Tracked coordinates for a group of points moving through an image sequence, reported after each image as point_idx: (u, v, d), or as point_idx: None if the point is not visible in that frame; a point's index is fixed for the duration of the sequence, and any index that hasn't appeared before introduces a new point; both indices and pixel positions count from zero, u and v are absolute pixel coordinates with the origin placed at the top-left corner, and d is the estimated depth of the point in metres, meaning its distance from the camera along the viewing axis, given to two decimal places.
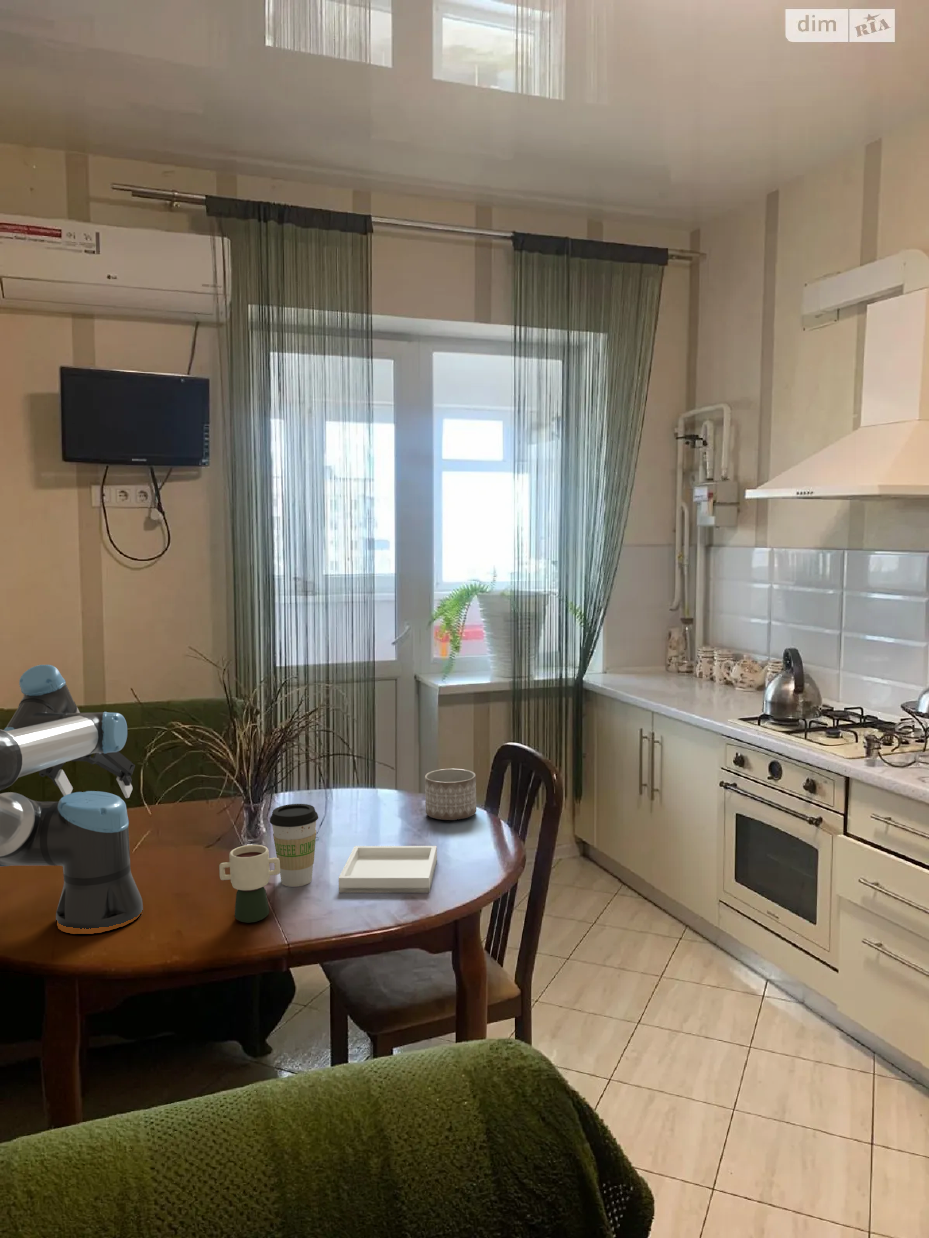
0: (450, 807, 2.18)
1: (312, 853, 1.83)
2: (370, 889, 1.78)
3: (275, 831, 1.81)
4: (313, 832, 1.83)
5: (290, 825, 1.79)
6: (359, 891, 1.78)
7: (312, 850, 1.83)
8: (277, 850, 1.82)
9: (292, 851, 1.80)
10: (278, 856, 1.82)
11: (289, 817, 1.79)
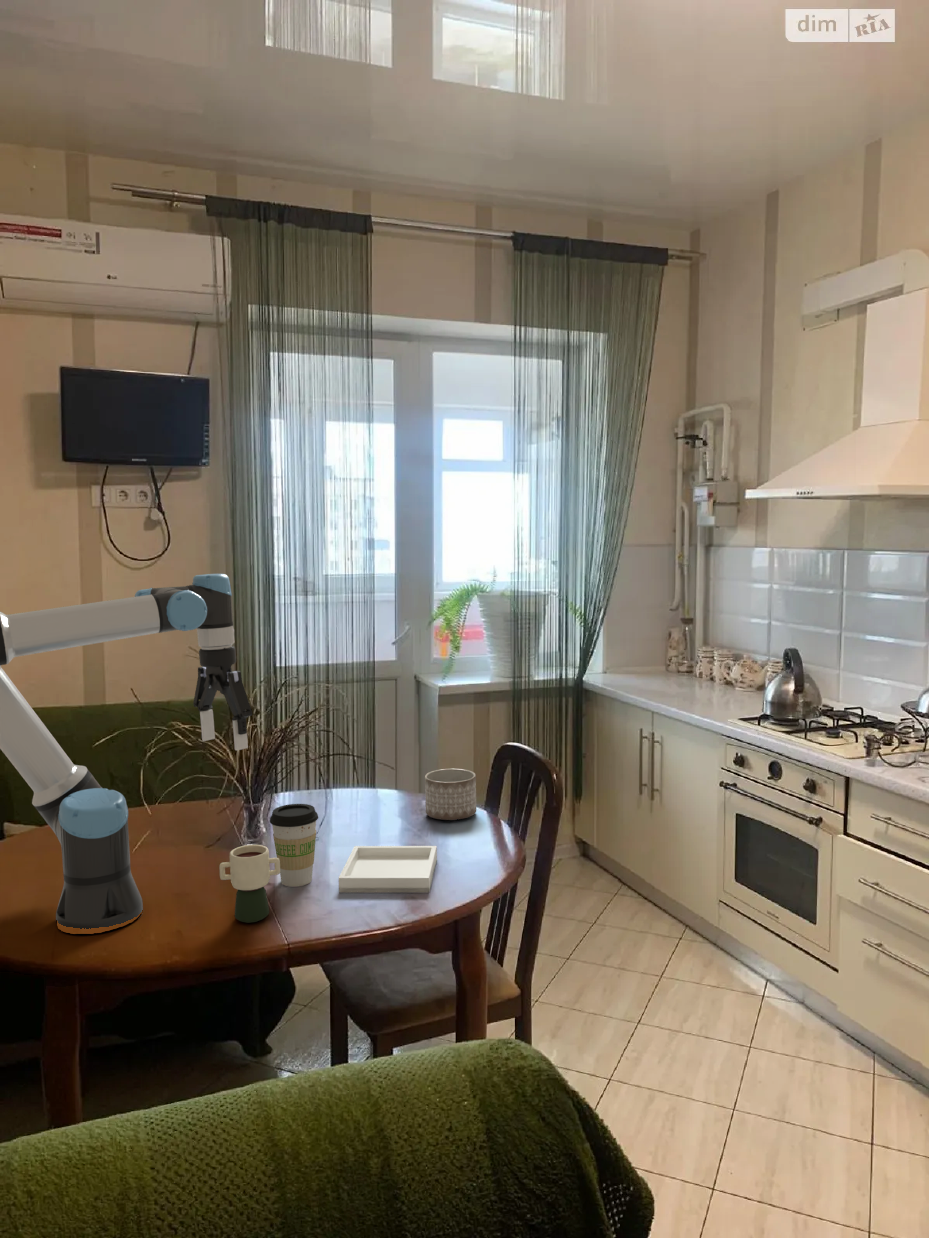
0: (450, 807, 2.18)
1: (312, 853, 1.83)
2: (370, 889, 1.78)
3: (275, 831, 1.81)
4: (313, 832, 1.83)
5: (290, 825, 1.79)
6: (359, 891, 1.78)
7: (312, 850, 1.83)
8: (277, 850, 1.82)
9: (292, 851, 1.80)
10: (278, 856, 1.82)
11: (289, 817, 1.79)
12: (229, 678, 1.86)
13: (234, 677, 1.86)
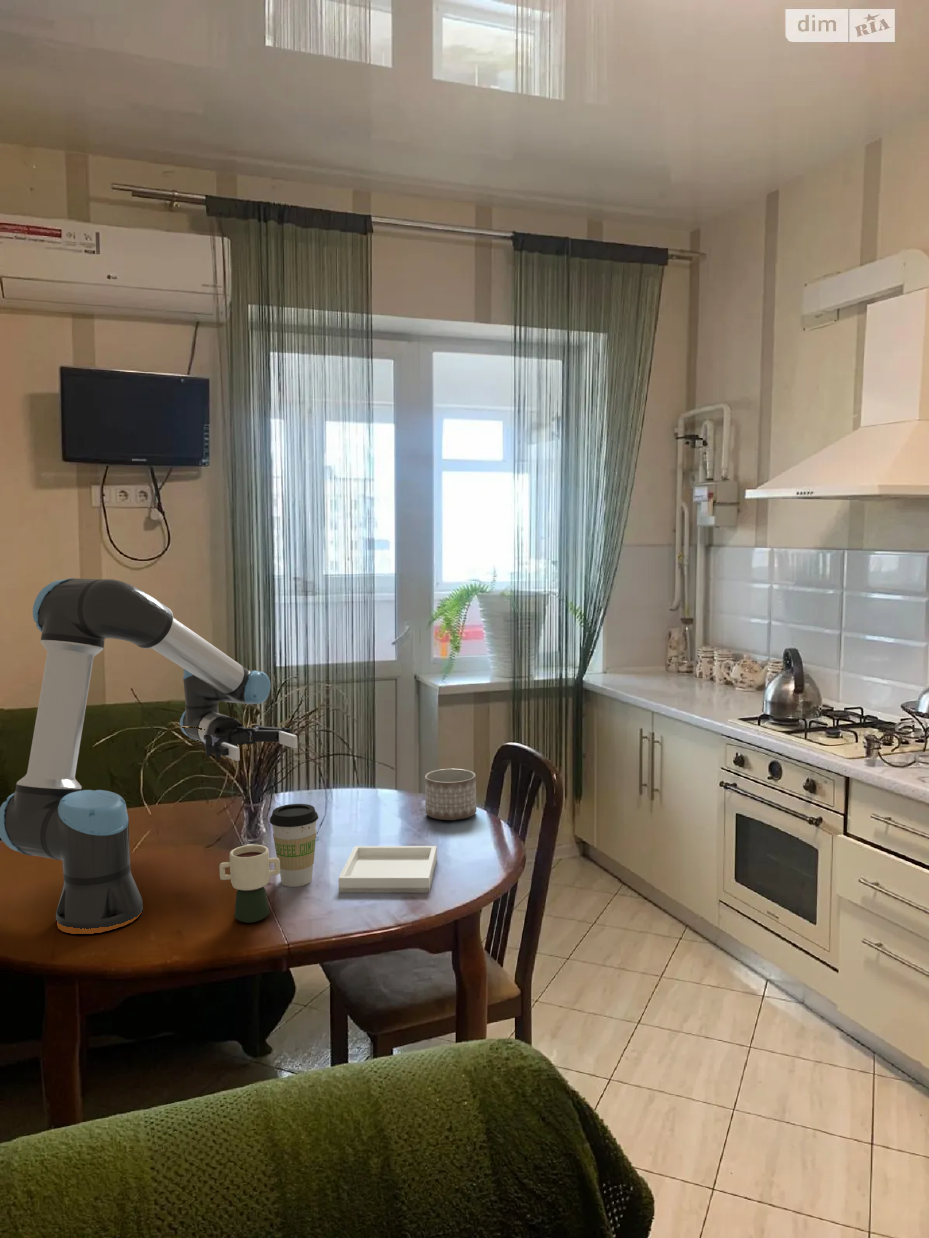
0: (450, 807, 2.18)
1: (312, 853, 1.83)
2: (370, 889, 1.78)
3: (275, 831, 1.81)
4: (313, 832, 1.83)
5: (290, 825, 1.79)
6: (359, 891, 1.78)
7: (312, 850, 1.83)
8: (277, 850, 1.82)
9: (292, 851, 1.80)
10: (278, 856, 1.82)
11: (289, 817, 1.79)
12: (258, 726, 2.04)
13: None
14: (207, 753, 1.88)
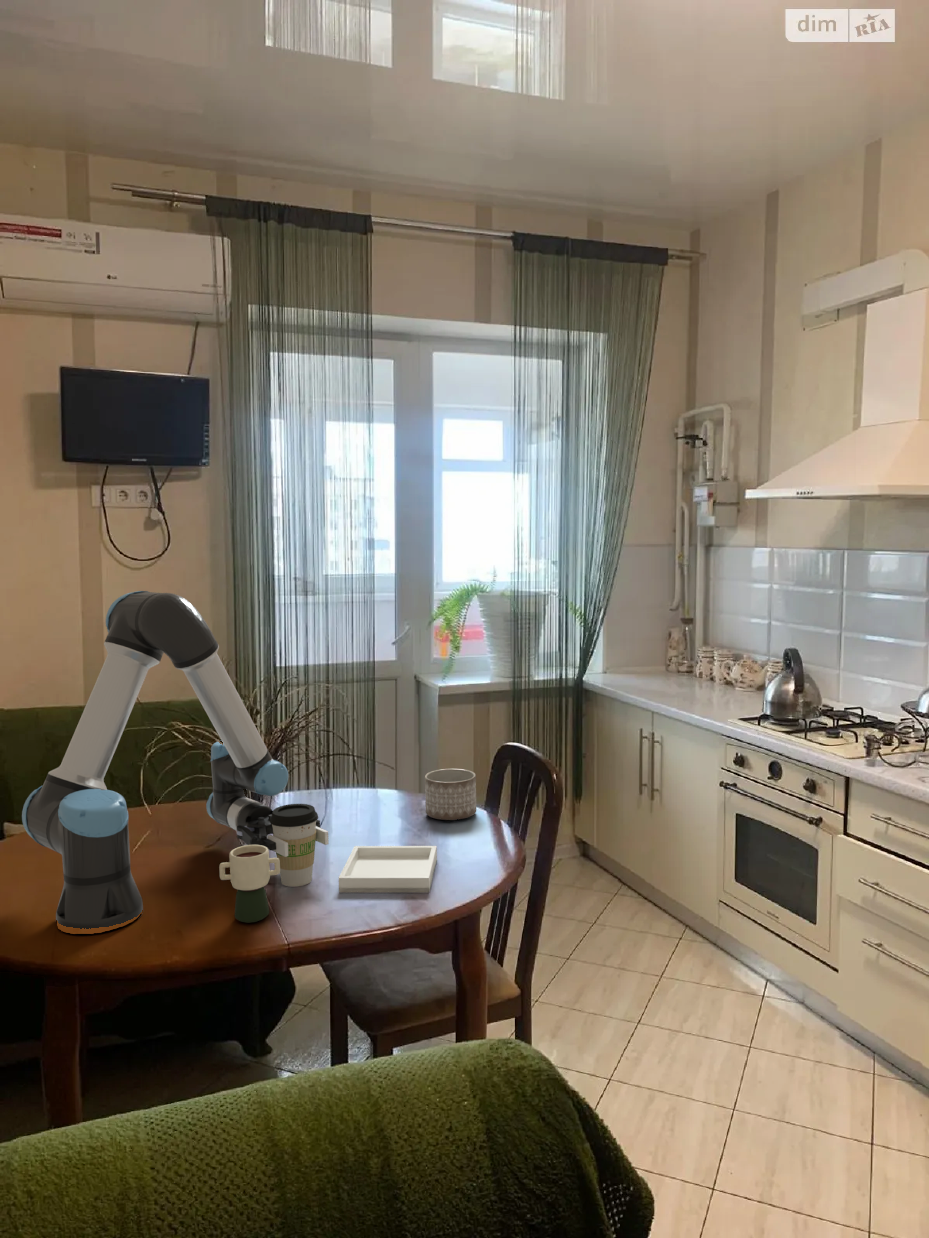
0: (450, 807, 2.18)
1: (312, 853, 1.83)
2: (370, 889, 1.78)
3: (275, 831, 1.81)
4: (313, 832, 1.83)
5: (290, 825, 1.79)
6: (359, 891, 1.78)
7: (312, 850, 1.83)
8: None
9: (292, 851, 1.80)
10: (278, 856, 1.82)
11: (289, 817, 1.79)
12: None
13: None
14: None
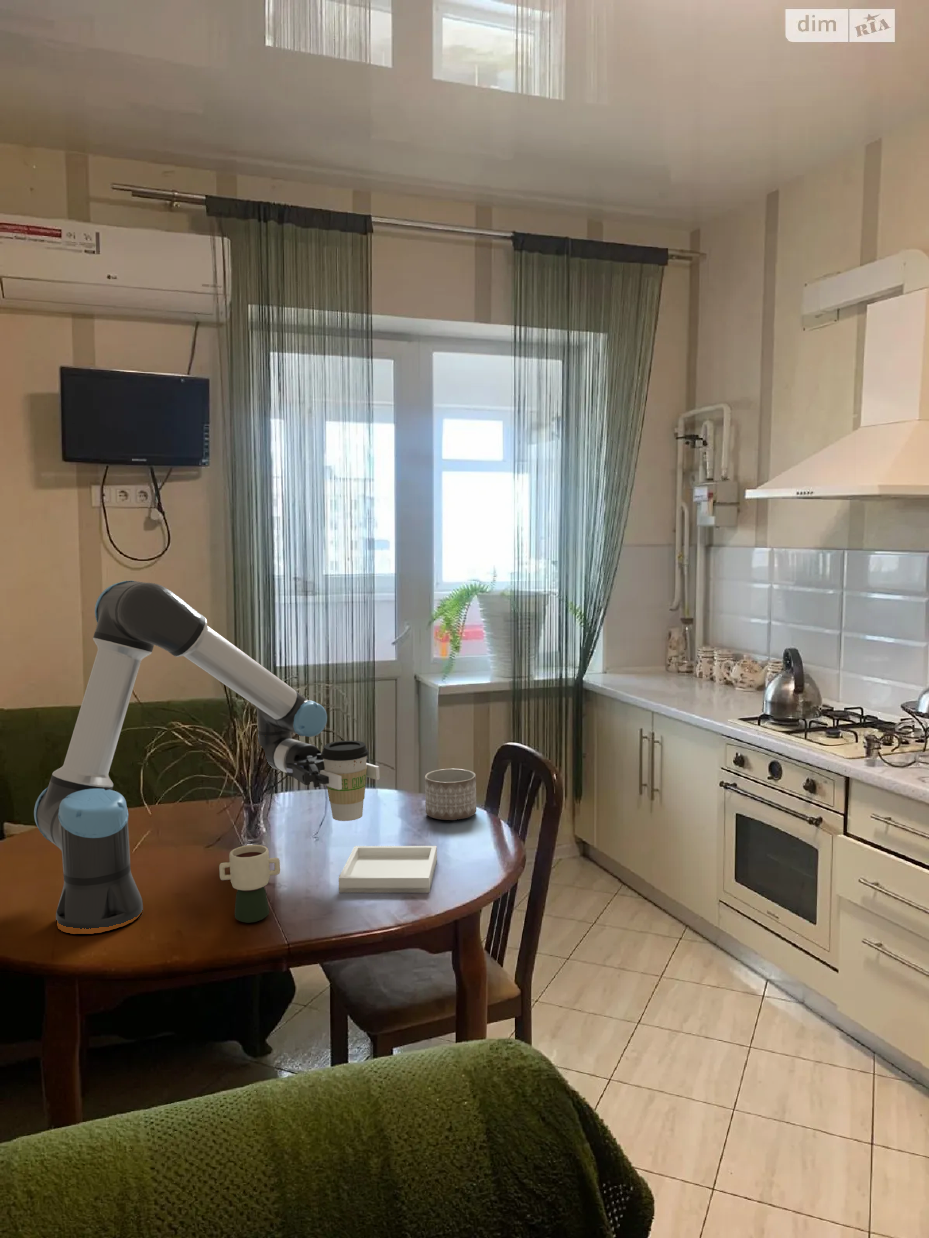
0: (450, 807, 2.18)
1: (363, 788, 1.84)
2: (370, 889, 1.78)
3: (327, 766, 1.82)
4: (364, 767, 1.84)
5: (343, 759, 1.80)
6: (359, 891, 1.78)
7: (363, 785, 1.84)
8: None
9: (344, 785, 1.81)
10: (330, 791, 1.83)
11: (341, 751, 1.80)
12: None
13: None
14: (305, 781, 1.82)
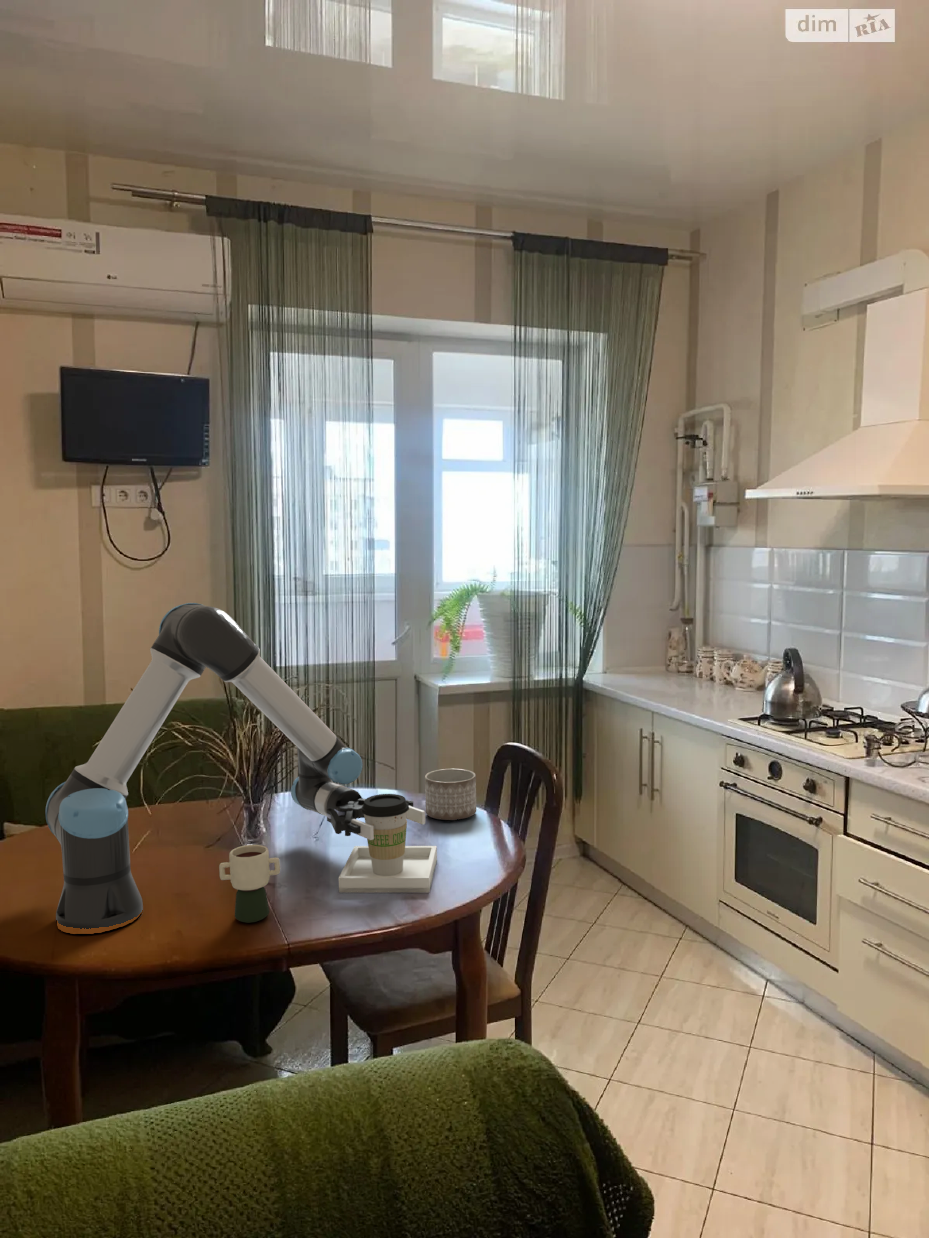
0: (450, 807, 2.18)
1: (404, 842, 1.85)
2: (370, 889, 1.78)
3: (368, 821, 1.83)
4: (405, 822, 1.84)
5: (384, 815, 1.80)
6: (359, 891, 1.78)
7: (404, 840, 1.85)
8: (370, 840, 1.83)
9: (385, 840, 1.82)
10: (371, 846, 1.84)
11: (382, 807, 1.81)
12: None
13: None
14: (337, 830, 1.82)
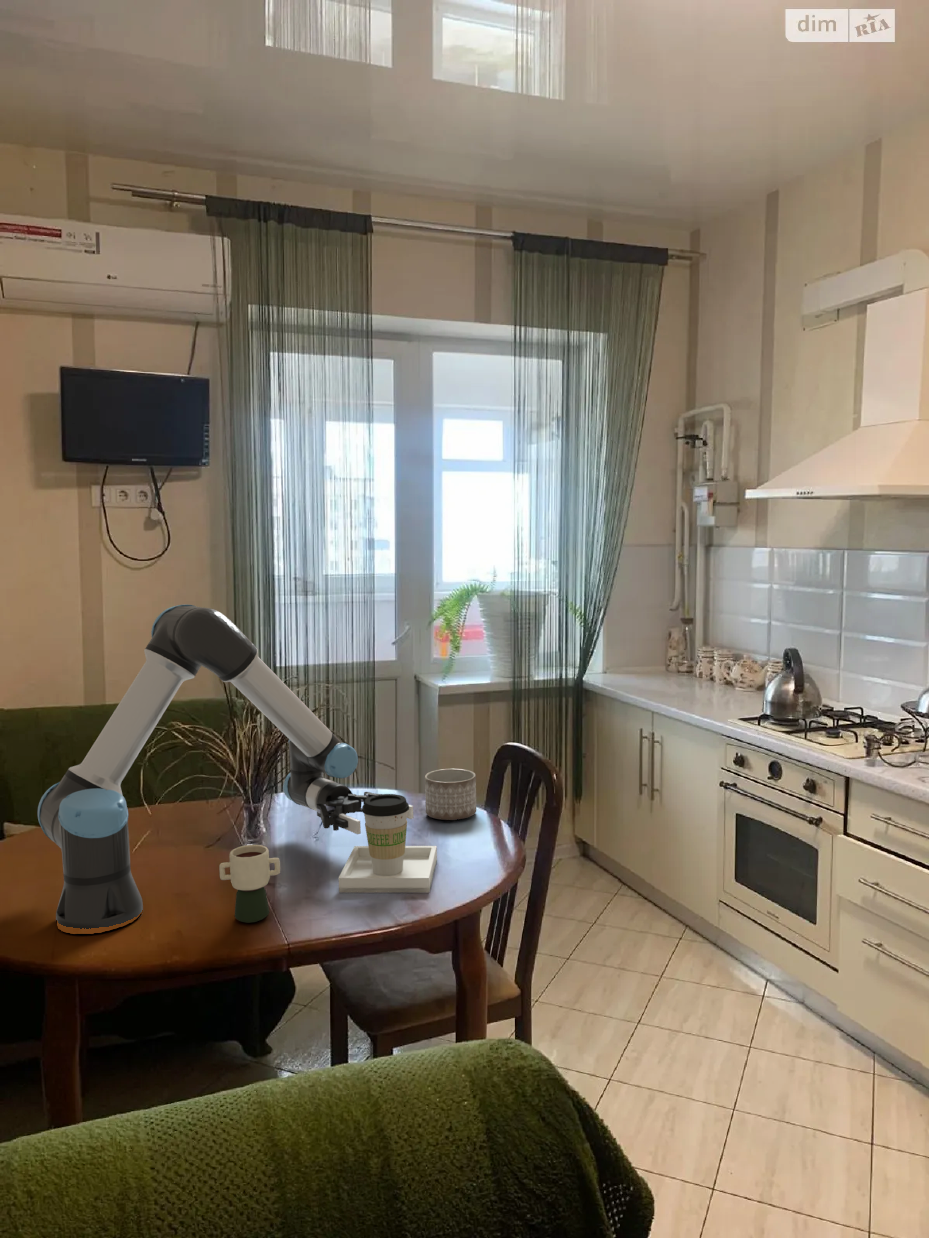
0: (450, 807, 2.18)
1: (404, 842, 1.85)
2: (370, 889, 1.78)
3: (368, 821, 1.83)
4: (405, 822, 1.85)
5: (384, 815, 1.81)
6: (359, 891, 1.78)
7: (404, 839, 1.85)
8: (370, 840, 1.84)
9: (385, 840, 1.82)
10: (371, 845, 1.84)
11: (383, 807, 1.81)
12: (368, 793, 2.02)
13: None
14: (325, 825, 1.86)
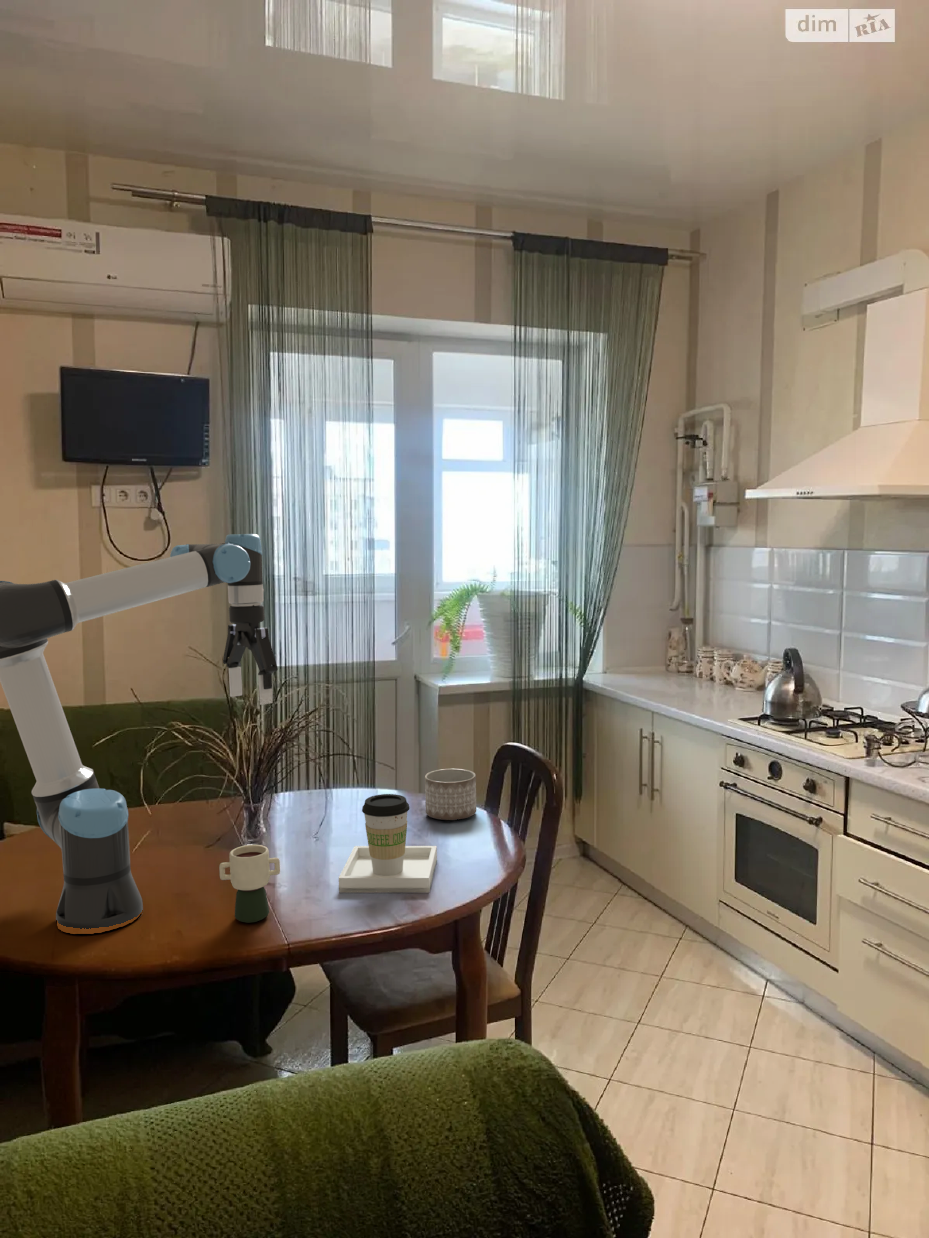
0: (450, 807, 2.18)
1: (404, 843, 1.85)
2: (370, 889, 1.78)
3: (368, 821, 1.83)
4: (405, 822, 1.85)
5: (384, 815, 1.81)
6: (359, 891, 1.78)
7: (404, 840, 1.85)
8: (370, 840, 1.84)
9: (385, 840, 1.82)
10: (371, 846, 1.84)
11: (383, 807, 1.81)
12: (256, 634, 1.92)
13: (261, 633, 1.92)
14: None
